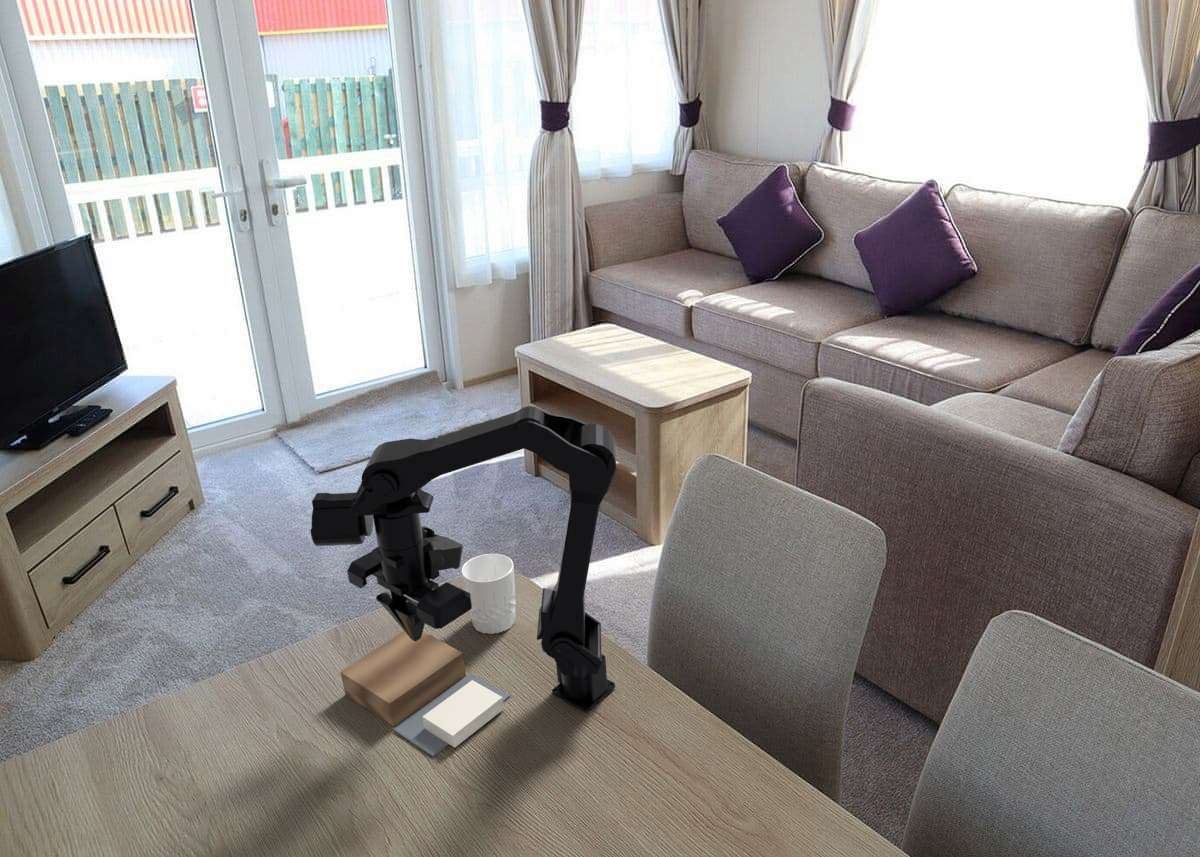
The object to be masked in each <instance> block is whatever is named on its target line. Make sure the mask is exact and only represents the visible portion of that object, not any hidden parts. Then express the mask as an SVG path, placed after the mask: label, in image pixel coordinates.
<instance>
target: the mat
mask: <svg viewBox="0 0 1200 857" xmlns="http://www.w3.org/2000/svg"><path fill="white" fill-rule="evenodd" d="M472 680H473V681H475V682H477V683H478V684H480V685H482V686H484V687H486V688H487V689H489V690H491V691H493V692H494V693H496V694H498V695H500V696H501V697H503V703H505V702H506V701H507V700H508V699H509V698H511V695H510V694H509V693H507V692H505V691H503V690H502V689H500V688H499V687H496V686H494V685H493V684H490V683H489V682H488V681H485V680H483V679H482V678H480V677H479V676H477V675H475V674H473V673H472V672H471V673H469V674H466V676H464V677H463V678H462V679H460V680H459V681H457V682H456V683H455V684H453V685H452V686H450V687H449V688H448V689H446V690H445V691H444V692H442V693H441V694H439V695H438V696H437V697H435V698H434V699H432V700H431V701H430V702H428V703H427V704H425V705H424V706H423V707H421V708H420V709H419V710H417V711H416V712H414V713H413V714H412V715H410V716H409V717H407V718H406V719H405V720H403V721H402V722H401V723H399V724H398V725H396V726H395V727H393V731H394V732H395V733H397V734H398V735H400V736H401V737H403V738H404V739H405V740H407V741H409V742H410V743H411V744H413V745H414V746H416V747H417V748H419V749H420V750H422V751H423V752H425V753H427V754H428V755H429V756H431V757H435V756H436V755H437V754H439V753H440V752H442V750H444V749H445V748H446V747H448V746H449V745H450V744H448V743H447V742H445V741H443V740H442V739H440V738H439V737H437V736H436V735H434V734H433V733H431V732H429V731H428V730H426V729H425V728H424V723H423V717H422V716H424V715H425V714H427V713H428V712H429V711H431V710H432V709H433V708H435V707H436V706H437V705H439V704H440V703H442V702H443V701H444V700H446V699H447V698H448V697H450V696H451V695H452V694H454V693H455V692H457V691H458V690H459V689H461V688H462V687H463V686H465V685H466V684H467V683H469V682H470V681H472Z"/></svg>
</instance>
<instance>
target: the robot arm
mask: <svg viewBox="0 0 1200 857" xmlns="http://www.w3.org/2000/svg"><path fill="white" fill-rule="evenodd" d="M521 450H526V451H530V452H532V453H533V454H535V455H537V456H538V457H539V458H541V459H543V460H544V461H545V462H546V463H548V464H549V465H551V466H552V467H553V468H555V469H557V470H558V471H560V472H563V473H565V474H568V482H569V496H570V497H569V498H570V500H569V506H568V511H567V512H568V513H567V518H566V525H565V531H564V532H565V533H564V538H563V544H562V550H561V557H560V562H559V569H558V575H557V581H556V583H555V585H554V587H553V588H552V589H549V588H545V587H543V588H542V593H541V605H540V608H539V609H538V619H537V620H538V621H537V631H536V632H537V633H536V640H537V641H539V640H541V641H540V643H541V644H540V645H541V649H542V652H543V653H545V654H546V655H547V656H548V657H550V658H552V659H553V660H554V662H555V665H556V674H557V675H556V676H557V682H558V683H559V684H557V685H556V686H555V687H554V688H552V689H551V693H552V695H554V696H555V697H557V698H558V699H561V700H563V701H564V702H566V703H568V704H569V705H571V706H573V707H576V708H577V709H579V710H580V711H583V712H589V711H590V710H591V709H592V708H593V707H594V706H596V705H597V704H598V703H599V702H601V700H602V699H604V698H605V697H606V696H607V695H608V694H609V693H610V692H612V691H613V690H614V689H615V688H616V683H615V682H614V681H612V680H609V679H608V673H607V663H606V660H607V657H606V656H605V655H604V654H603V653H602V623H601V622H600V621H599V620H597V619H596V618H595V617H593V616H592V615H590V614H589V613H587V612H586V607H585V606H586V602H585V601H586V600H585V591H586V585H587V579H588V575H589V574H588V573H589V569H590V562H591V556H592V550H593V545H594V539H595V534H596V527H597V522H598V515H599V509H600V506H601V505H602V503H603V501H604V500H605V498H606V496H607V495H608V492H609V489H610V487H611V485H612V482H613V479H614V477H615V474H616V472H617V456H616V455H617V454H616V453H617V452H616V440H615V435H614V434H613V433H612V432H611V431H610V430H609V429H608V427H605V426H604V425H602V424H597V423H586V422H584V421H581V420H579V419H578V418H575V417H572V416H569V415H563V414H557V413H553V412H551V413H550V412H548V411H546V410H543V409H542V408H539V407H536V406H532V405H527V406H524V407H522V408H519V410H517V411H514V412H512V413H508V414H506V415H501V416H499V417H495V418H493V419H489V420H487V421H484V422H481V423H478V424H475V425H471V426H468V427H465V428H462V429H459V430H457V431H453V432H450V433H447V434H443V435H441V436H437V437H435V438H428V439H421V438H405V439H398V440H392V441H391V440H390V441H386V442H383V443H380V444H379V445H378V446H377V447H376V448H375V449H374V450H373V452H372V454H371V456H370V458H369V459H368V462H367V464H366V466H365V468H364V470H363V471H362V474H361V482H360V484H359V486H358V488H357V491H356V492H343V493H329V492H316V494H315V495H314V497H313V499H312V501H311V504H312V511H311V512H312V513H311V528H310V536H311V537H310V538H311V539H312V542H313V544H314V546H316V547H330V546H332V547H333V546H350V545H353V546H355V545H356V546H357V545H363V544H364V542H365V540H366V537H370V536H372V534H373V529H375V536H376V540H377V547H375V548H373V549H371V551H369V552H368V553H366V554H364V555H362V556H360V557H358V558H357V559H355V560H353V561H351V562H350V564H349V566H348V567H347V570H346V572H347V577H348V582H349V583H350V584H351V585H353V586H355V587H357V588H359V589H363V588H364V587H366V585H368V581H367V578H368V577H370V576H374V577H376V581H377V582H376V587H377V588H379V594H377V596H376V597H375V598H376V601H377V602H379V603H380V604H381V605H382V607H383V608H384V609H385V610H386V611H387V612H388V613H389V615H391V617H392V619H394V621H395V622H397V624H398V625H399V627H401V629H402V630H403V632H404V631H405V632H406V634H407V635H408V636H409V637H410V638H411V639H412V640H413V641H417V640H419V639H420V638H421V636H422V633H423V631H424V628H425V625H427V626H429V627H431V629H432V628H433V629H434V630H437V629H438V630H440V629H443V628H444V627H446V626H448V625H449V624H451V623H452V622H453V621H455V620H457V619H458V618H460V617H461V616H463V615H464V614H466V613H468V612H470V610H471V609H472V602H471V595H470V593H469V592H467V591H465V589H462V588H460V587H458V586H456V585H455V584H452V583H450V582H447V581H446V582H444V583H443V584H439V583H438V582H436V581H434V580H435V579H437V578H438V577H440V576H441V575H440V571H446V570H450V569H454V570H457V569H460V567H461V563H462V562H461V561H462V555H463V548H464V545H463V544H462V543H461V542H458V541H456V540H453V539H451V538H449V537H446V536H442V535H440V534H435V530H434V529H432V528H430V527H428V526H426V525H423V526H422V523H421V522H422V521H421V515H420V514H427V513H430V512H431V511H430V510H431V507H432V504H433V501H434V499H435V498H434V495H433V494H430V493H429V492H426V491H424V490H423V487H426V485H427V484H429V483H430V482H432V481H433V480H435V479H436V478H438V477H441V476H443V475H446V474H449V473H452V472H456V471H459V470H461V469H465V468H468V467H471V466H474V465H478V464H480V463H483V462H486V461H490V460H493V459H495V458H496V459H497V458H500V457H503V456H505V455H509V454H512V453H515V452H518V451H521Z"/></svg>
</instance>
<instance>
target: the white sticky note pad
mask: <svg viewBox="0 0 1200 857" xmlns="http://www.w3.org/2000/svg"><path fill="white" fill-rule="evenodd" d="M504 709H505V705H504V702H503V697H501V696H500V695H498V694H496V693H494V692H493V691H491V690H489V689H487V688H486V687H484V686H482V685H480V684H478V683H477V682H475V681H473V680H472V681H470V682H469V683H467V684H466V685H465V686H463V687H462V688H461V689H459V690H458V691H457V692H455V693H454V694H452V695H451V696H450V697H448V698H447V699H446V700H444V701H443V702H442V703H440V704H439V705H437V706H436V707H435V708H433V709H432V710H431V711H429V712H428V713H427V714H425V715H424V716H422V717H423V723H424V728H425V729H426V730H428V731H429V732H431V733H433V734H434V735H436V736H437V737H439V738H440V739H442V740H443V741H445V742H447V743H448V744H449V745H450V746H451V747H452V748H456V747H458V746H459V745H460V744H461V743H463V742H464V741H465V740H466V739H467V738H469V737H470V736H471V735H473V734H474V733H475V732H476V731H479V729H481V728H482V727H483V726H485V724H486V723H488V722H489V721H490V720H492V719H493V718H495V717H496V716H497V715H498V714H499V713H501V712H502V711H503V710H504Z"/></svg>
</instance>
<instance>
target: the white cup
mask: <svg viewBox="0 0 1200 857" xmlns="http://www.w3.org/2000/svg"><path fill="white" fill-rule="evenodd" d="M514 569H515V568H514V562H513V560H512V559H511V558H510V557H509V556H507V555H504V554H502V553H501V554H500V553H486V554H480V555H477V556H475V557H472V558H470V559H468V560H467V561H466V562H464V564H463V565H462V567H461V575H462V580H463V586H464V587H463V588H464V590H465V591H467V592H469V593H470V595H471V602H472V609H471V610H469V613H470V617H471V622H472V626H473V627H474V629H475V630H476V631H477V632H480V633H481V634H486V633H487V635H495V633H496V634H500V632H501V633H504V632H505V631H508V630H509V629H511V628H512V626H513V625H514V624H515V623H516V617H517V614H516V586H515V584H516V583H515V570H514ZM503 631H504V632H503Z"/></svg>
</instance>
